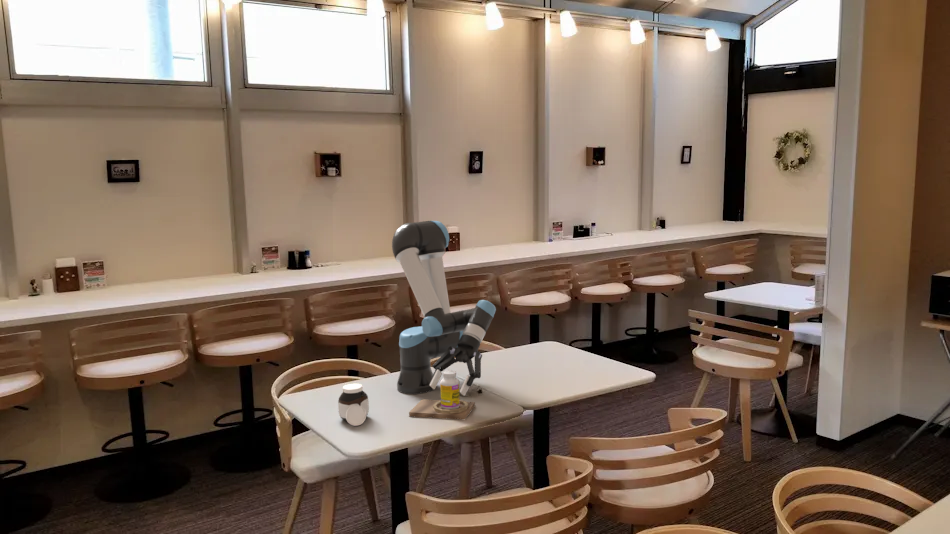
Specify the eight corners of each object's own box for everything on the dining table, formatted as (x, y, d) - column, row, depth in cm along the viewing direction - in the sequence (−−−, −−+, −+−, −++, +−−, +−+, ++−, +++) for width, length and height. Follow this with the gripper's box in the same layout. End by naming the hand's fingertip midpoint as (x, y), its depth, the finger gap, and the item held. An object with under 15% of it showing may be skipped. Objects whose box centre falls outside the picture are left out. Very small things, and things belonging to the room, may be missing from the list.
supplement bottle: (453, 411, 252) (451, 375, 250) (437, 408, 256) (436, 373, 254) (463, 405, 258) (462, 370, 256) (448, 403, 261) (446, 368, 259)
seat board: (409, 416, 253) (408, 409, 253) (422, 403, 267) (421, 396, 266) (464, 419, 248) (464, 412, 248) (475, 406, 262) (474, 399, 261)
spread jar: (357, 412, 259) (356, 380, 257) (379, 418, 252) (378, 386, 250) (331, 422, 250) (329, 389, 248) (353, 429, 243) (351, 395, 241)
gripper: (504, 349, 259) (480, 401, 249) (449, 340, 274) (425, 389, 264) (495, 337, 254) (470, 391, 244) (439, 329, 269) (414, 379, 259)
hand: (446, 390), depth 254 cm, fingers open, 13 cm apart
